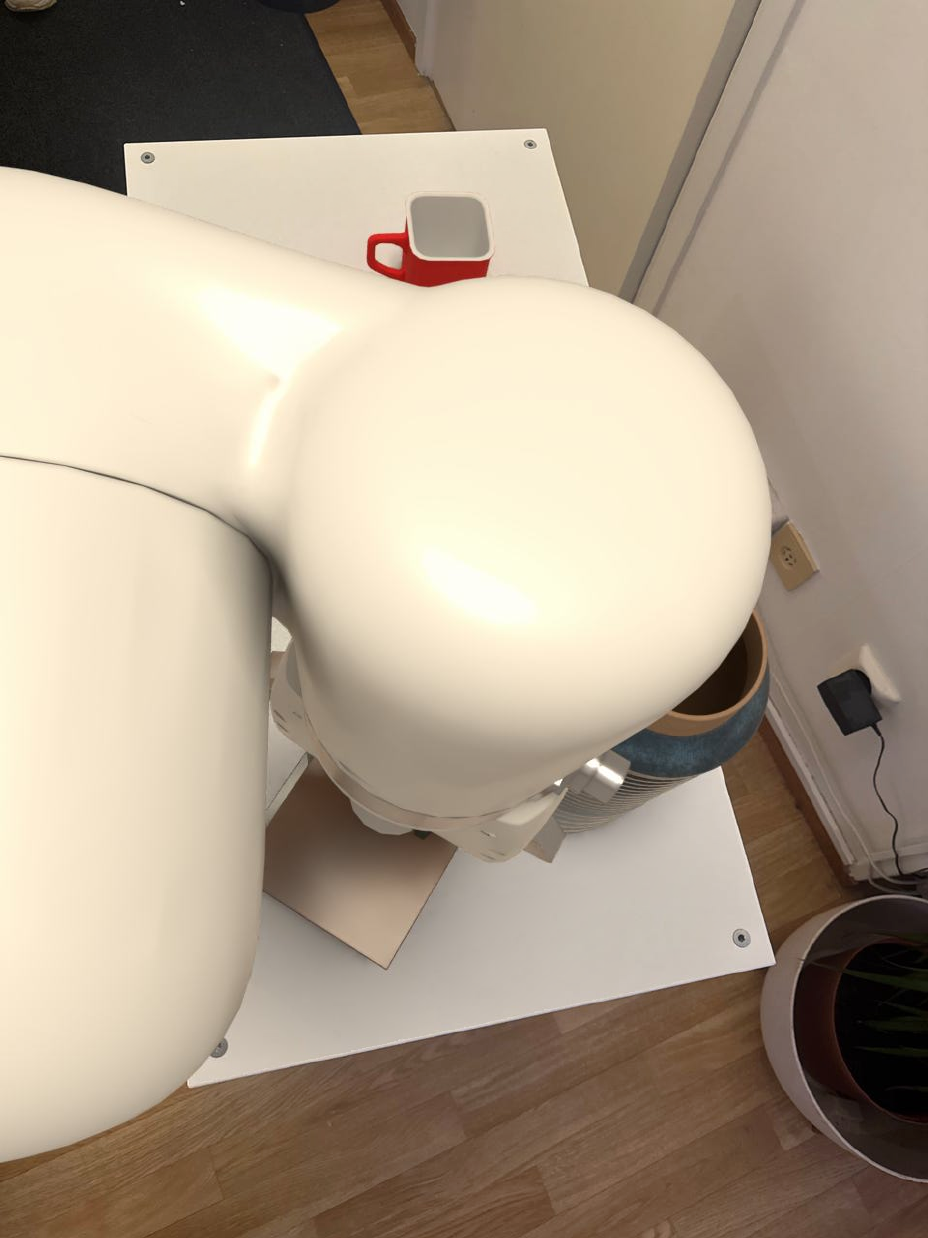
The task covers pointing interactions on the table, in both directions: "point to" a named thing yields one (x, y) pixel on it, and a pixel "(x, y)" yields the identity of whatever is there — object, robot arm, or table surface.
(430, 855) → the cabinet
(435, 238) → the mug
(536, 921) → the table surface
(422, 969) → the table surface
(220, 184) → the table surface
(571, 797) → the vase
